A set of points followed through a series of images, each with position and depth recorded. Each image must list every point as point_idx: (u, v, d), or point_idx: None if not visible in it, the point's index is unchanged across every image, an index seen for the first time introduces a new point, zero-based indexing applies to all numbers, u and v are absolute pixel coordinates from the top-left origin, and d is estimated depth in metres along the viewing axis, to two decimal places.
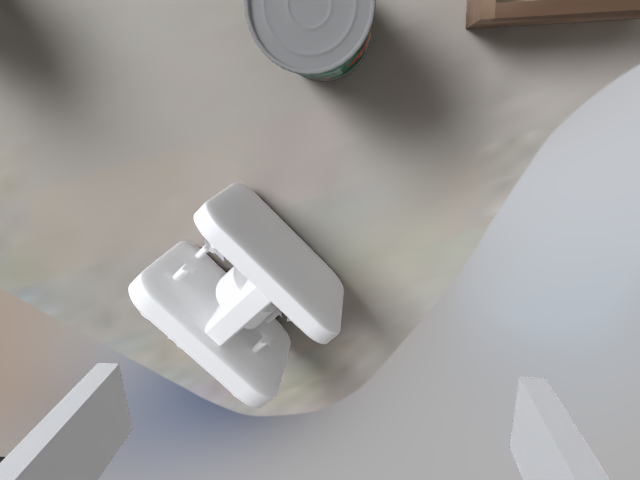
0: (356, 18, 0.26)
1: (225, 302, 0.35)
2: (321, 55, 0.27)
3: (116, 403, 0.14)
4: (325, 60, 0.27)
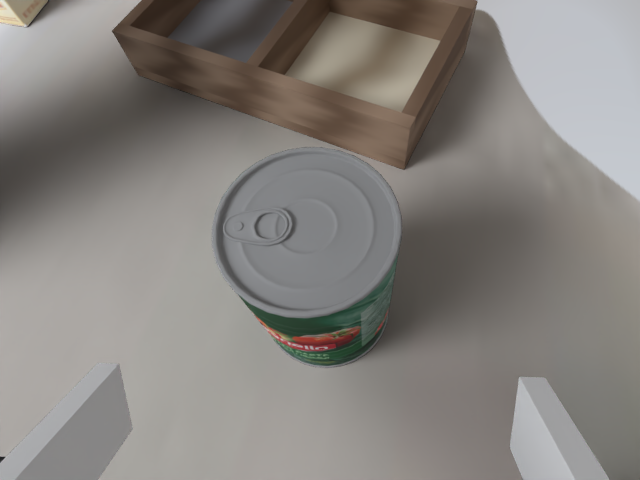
0: (354, 182, 0.19)
1: None
2: (375, 240, 0.18)
3: (116, 403, 0.14)
4: (384, 238, 0.18)
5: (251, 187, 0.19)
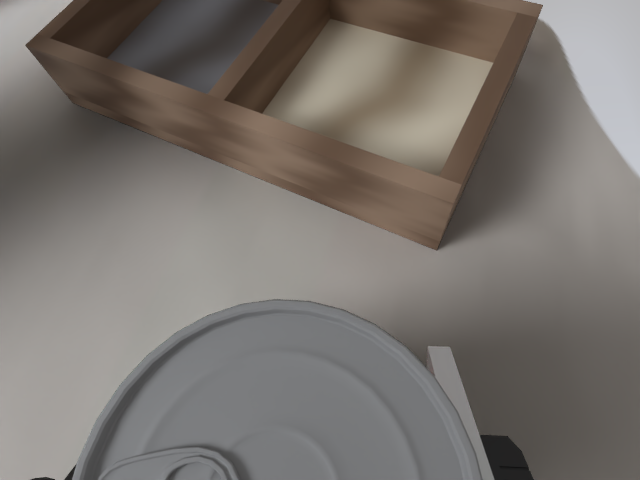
0: (376, 388, 0.09)
1: None
2: None
3: None
4: None
5: (163, 389, 0.09)
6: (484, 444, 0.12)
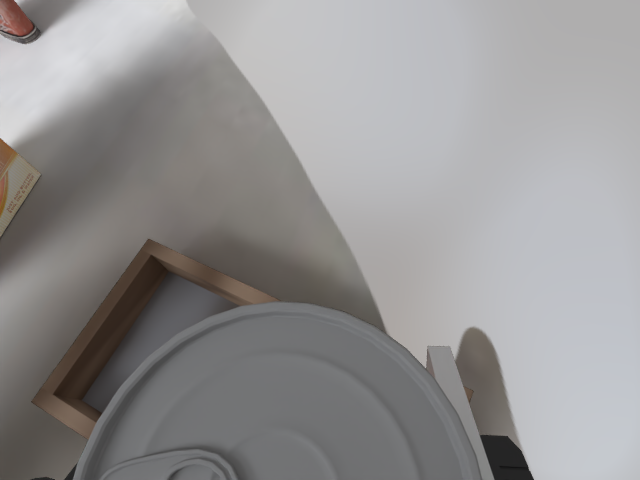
0: (376, 390, 0.09)
1: None
2: None
3: None
4: None
5: (163, 392, 0.09)
6: (484, 444, 0.12)
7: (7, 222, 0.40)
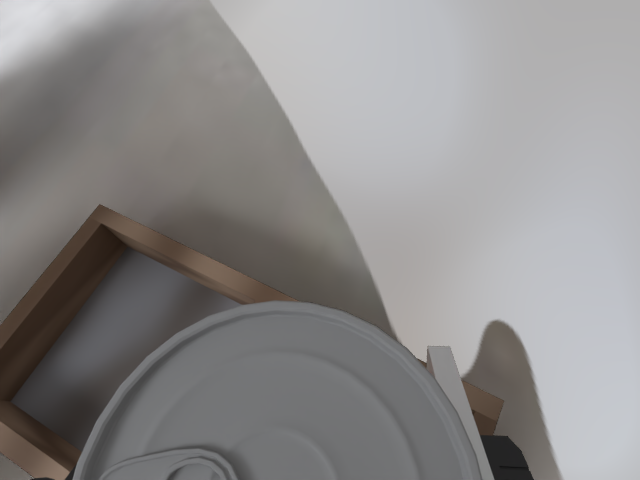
0: (376, 389, 0.09)
1: None
2: None
3: None
4: None
5: (163, 391, 0.09)
6: (484, 444, 0.12)
7: None
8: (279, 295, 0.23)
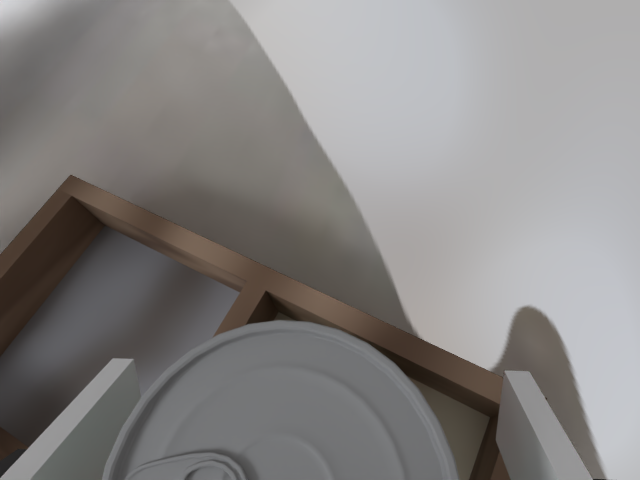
0: (368, 400, 0.10)
1: None
2: None
3: (131, 398, 0.15)
4: None
5: (179, 401, 0.10)
6: None
7: None
8: (275, 275, 0.20)
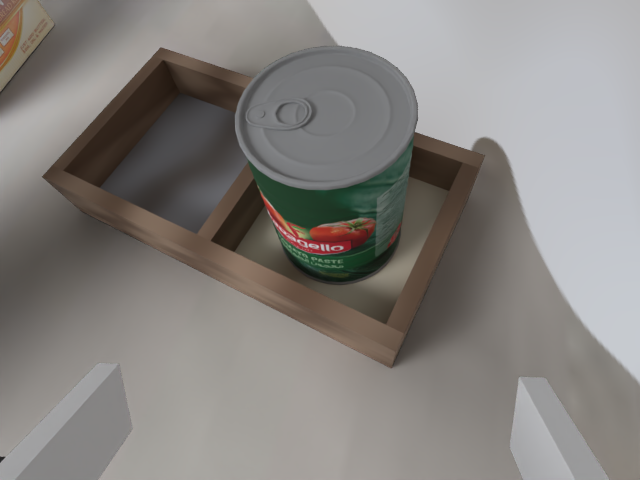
0: (371, 76, 0.20)
1: None
2: (391, 123, 0.18)
3: (116, 403, 0.14)
4: (400, 122, 0.18)
5: (272, 82, 0.20)
6: None
7: (20, 62, 0.40)
8: None
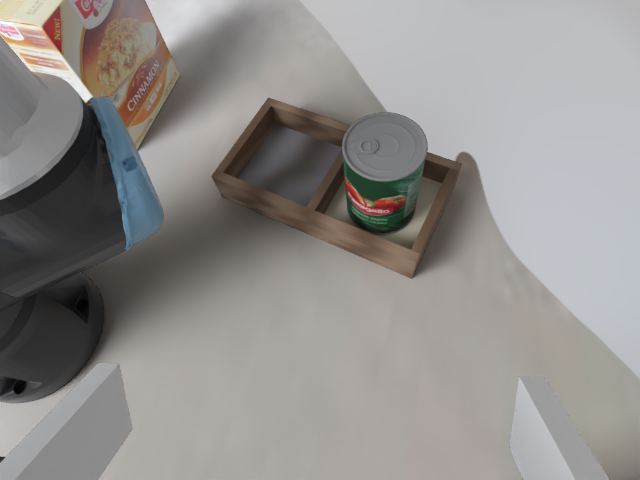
0: (404, 127, 0.41)
1: None
2: (415, 151, 0.40)
3: (116, 403, 0.14)
4: (419, 150, 0.40)
5: (357, 130, 0.42)
6: None
7: (163, 101, 0.62)
8: None
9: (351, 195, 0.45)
